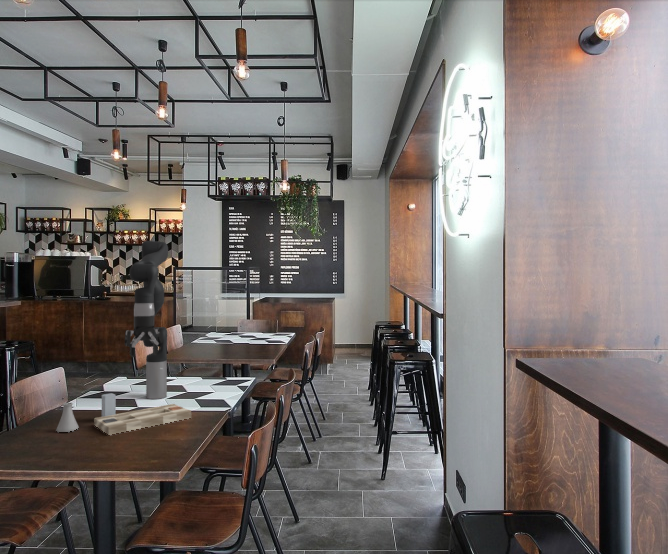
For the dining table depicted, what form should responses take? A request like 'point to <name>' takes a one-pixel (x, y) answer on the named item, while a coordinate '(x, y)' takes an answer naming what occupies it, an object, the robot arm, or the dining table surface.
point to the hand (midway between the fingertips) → (144, 355)
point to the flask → (67, 419)
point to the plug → (108, 404)
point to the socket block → (141, 418)
